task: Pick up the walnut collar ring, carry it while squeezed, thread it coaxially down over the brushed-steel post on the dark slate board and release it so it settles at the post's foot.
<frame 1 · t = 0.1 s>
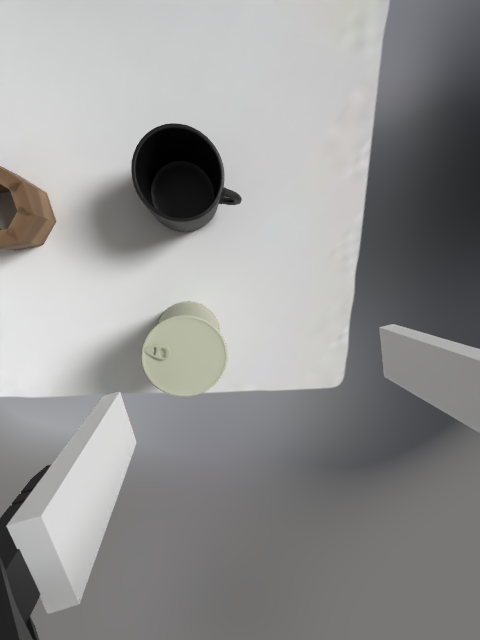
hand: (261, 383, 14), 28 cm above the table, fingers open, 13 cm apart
collar: (16, 213, 35), on the table
mug: (193, 198, 38), on the table
can: (188, 332, 41), on the table
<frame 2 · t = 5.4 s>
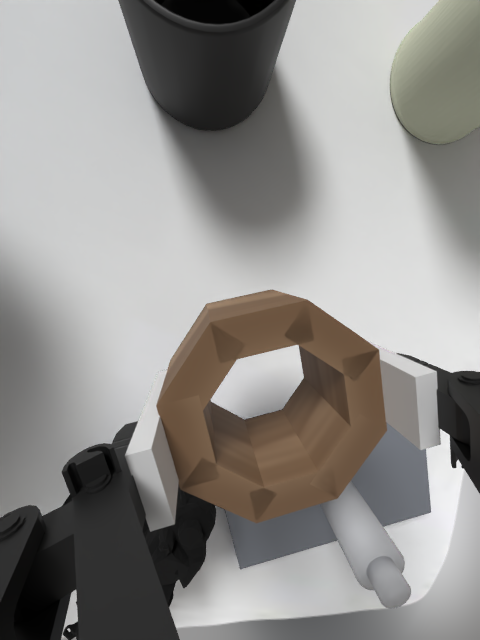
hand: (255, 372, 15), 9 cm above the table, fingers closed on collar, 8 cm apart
collar: (254, 371, 15), point 9 cm above the table, touching gripper
mug: (209, 44, 20), on the table
can: (440, 84, 23), on the table
film camera: (135, 492, 26), on the table
post board: (323, 470, 27), on the table
when the fingers open (3 cm above the table, at t = 10.3 s): collar drops 1 cm, resting on post board.
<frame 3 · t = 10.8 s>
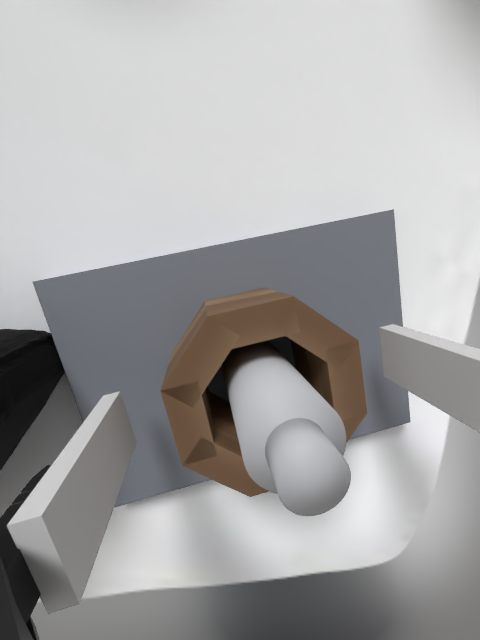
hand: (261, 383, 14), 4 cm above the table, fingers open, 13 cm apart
collar: (249, 362, 17), point 1 cm above the table, touching post board
post board: (246, 356, 18), on the table
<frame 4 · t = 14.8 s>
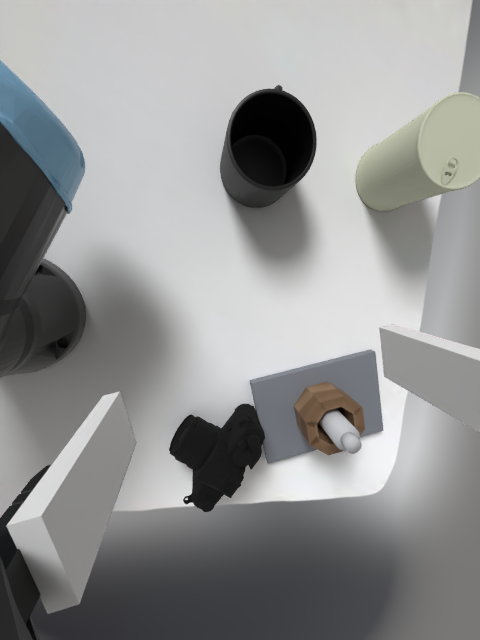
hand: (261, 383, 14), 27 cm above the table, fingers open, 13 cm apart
collar: (320, 408, 44), point 1 cm above the table, touching post board
mug: (257, 161, 37), on the table
can: (384, 178, 40), on the table
film camera: (210, 432, 43), on the table
post board: (317, 404, 45), on the table
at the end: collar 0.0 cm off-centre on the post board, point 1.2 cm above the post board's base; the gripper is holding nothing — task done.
